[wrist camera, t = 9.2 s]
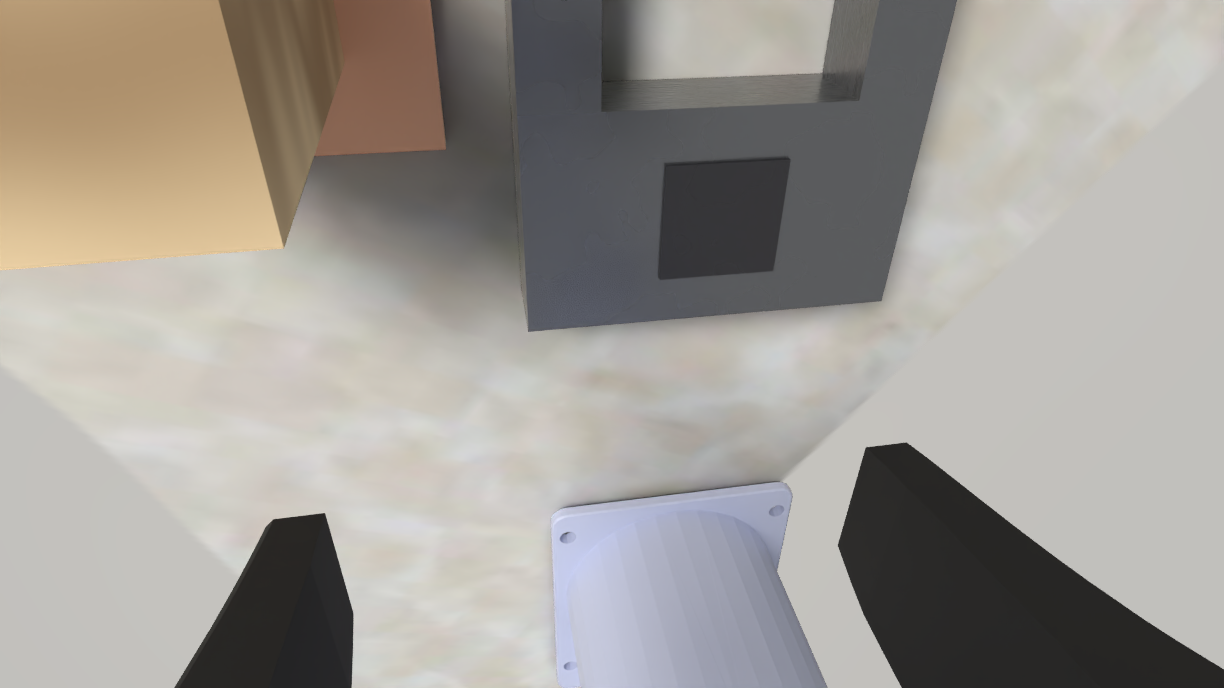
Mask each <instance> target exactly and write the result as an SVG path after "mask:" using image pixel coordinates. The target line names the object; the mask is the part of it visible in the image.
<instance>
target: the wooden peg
mask: <svg viewBox="0 0 1224 688" xmlns="http://www.w3.org/2000/svg"><path fill="white" fill-rule="evenodd" d="M344 63H345V61H344V56H343V50H342V45H341V40H340V34H339V29H338V23H337V18H336V13H335V7H334V2H333V0H0V270H11V269H24V268H37V267H50V266H63V265H76V264H89V263H102V262H115V261H127V260H140V259H153V258H166V257H179V256H192V255H205V254H218V253H231V252H244V251H257V250H270V249H283V248H284V246H285V243H286V240H287V237H288V234H289V231H290V228H291V225H292V222H293V219H294V216H295V213H296V210H297V207H298V204H299V201H300V198H301V195H302V192H303V188H304V185H305V182H306V179H307V176H308V173H309V170H310V167H311V164H312V161H313V158H314V155H315V152H316V149H317V146H318V143H319V140H320V137H321V134H322V131H323V127H324V124H325V121H326V118H327V115H328V112H329V109H330V106H331V103H332V100H333V97H334V94H335V91H336V88H337V85H338V82H339V79H340V76H341V73H342V70H343V66H344Z"/></svg>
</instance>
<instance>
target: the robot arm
mask: <svg viewBox="0 0 1224 688" xmlns="http://www.w3.org/2000/svg"><path fill="white" fill-rule="evenodd" d="M791 502H792V492H791V490H790V488H789V487H788V485H787V484H786V483H783V482H772V483H764V484H756V485H748V486H740V487H732V488H723V489H715V490H707V491H699V492H691V493H683V494H675V495H666V496H658V497H650V498H642V499H634V500H626V501H618V502H609V503H601V504H593V505H585V506H577V507H569V508H563V509H560V510H558V511H557V512H555V513H554V514H553V515H552V517H551V544H552V569H553V595H554V620H555V645H556V670H557V681H558V684H559V685H560V686H561V687H563V688H575V687H581V688H827V685H826V683H825V681H824V678H823V677H822V674H821V672H820V669H819V667H818V665H817V662H816V660H815V658H814V655H813V653H812V651H811V648H810V646H809V644H808V642H807V639H806V637H805V635H804V633H803V630H802V628H801V626H800V623H799V621H798V619H797V616H796V614H795V612H794V609H793V607H792V605H791V603H790V600H789V598H788V596H787V594H786V591H785V589H784V586H783V584H782V582H781V580H780V577H779V575H778V573H777V568H778V563H779V559H780V554H781V549H782V545H783V540H784V535H785V530H786V526H787V521H788V516H789V511H790V506H791ZM774 506H775V507H774ZM567 532H571V533H568V534H563V533H567ZM838 547H839V550H840V552H841V555H842V558H843V561H844V564H845V566H846V569H847V572H848V575H849V577H850V580H851V583H852V586H853V588H854V591H855V593H856V596H857V599H858V601H859V604H860V606H861V609H862V611H863V614H864V616H865V618H866V620H867V621H868V624H869V626H870V627H871V630H872V632H873V633H874V635H875V637H876V639H877V641H878V643H879V645H880V647H881V649H882V651H883V653H884V654H885V657H886V658H887V660H888V662H889V664H890V666H891V668H892V670H893V672H894V674H895V676H896V678H897V679H898V681H899V683H900V685H901V687H902V688H1224V669H1222V668H1220V667H1219V666H1217V665H1216V664H1214V663H1212V662H1210V661H1209V660H1207V659H1206V658H1204V657H1202V656H1201V655H1199V654H1197V653H1196V652H1194V651H1193V650H1191V649H1189V648H1188V647H1186V646H1185V645H1183V644H1181V643H1180V642H1178V641H1176V640H1175V639H1173V638H1172V637H1170V636H1169V635H1167V634H1165V633H1164V632H1162V631H1161V630H1159V629H1157V628H1156V627H1155V626H1153V625H1152V624H1150V623H1148V622H1147V621H1145V620H1144V619H1142V618H1141V617H1139V616H1138V615H1137V614H1135V613H1133V612H1132V611H1131V610H1129V609H1128V608H1126V607H1125V606H1123V605H1122V604H1121V603H1119V602H1118V601H1116V600H1115V599H1113V598H1112V597H1110V596H1109V595H1107V594H1106V593H1105V592H1103V591H1102V590H1100V589H1099V588H1097V587H1096V586H1094V585H1093V584H1091V583H1090V582H1089V581H1087V580H1086V579H1084V578H1083V577H1082V576H1080V575H1079V574H1078V573H1076V572H1075V571H1074V570H1072V569H1071V568H1069V567H1068V566H1067V565H1065V564H1064V563H1062V562H1061V561H1060V560H1058V559H1057V558H1056V557H1054V556H1053V555H1052V554H1050V553H1049V552H1048V551H1046V550H1045V549H1044V548H1042V547H1041V546H1040V545H1038V544H1037V543H1036V542H1034V541H1033V540H1032V539H1030V538H1029V537H1028V536H1026V535H1025V534H1024V533H1022V532H1021V531H1020V530H1019V529H1017V528H1016V527H1015V526H1013V525H1012V524H1011V523H1010V522H1008V521H1007V520H1005V519H1004V518H1003V517H1002V516H1000V515H999V514H998V513H997V512H995V511H994V510H993V509H992V508H990V507H989V506H988V505H986V504H985V503H984V502H982V501H981V500H980V499H979V498H977V497H976V496H975V495H974V494H972V493H971V492H970V491H969V490H967V489H966V488H965V487H964V486H962V485H961V484H960V483H958V482H957V481H956V480H955V479H953V478H952V477H951V476H949V475H948V474H947V473H946V472H945V471H943V470H942V469H941V468H939V467H938V466H937V465H936V464H934V463H933V462H932V461H930V460H929V459H928V458H927V457H925V456H924V455H923V454H921V453H920V452H919V451H917V450H916V449H915V448H913V447H912V446H911V445H909V444H908V443H899V444H891V445H884V446H875V447H867V448H866V449H865V453H864V456H863V459H862V463H861V466H860V470H859V473H858V477H857V480H856V484H855V488H854V491H853V495H852V498H851V501H850V505H849V508H848V512H847V515H846V519H845V522H844V526H843V529H842V533H841V537H840V540H839V544H838ZM352 658H353V611H352V607H351V604H350V600H349V597H348V593H347V589H346V586H345V582H344V579H343V575H342V572H341V568H340V565H339V561H338V558H337V554H336V551H335V547H334V544H333V540H332V537H331V533H330V529H329V526H328V522H327V519H326V515H325V513H322V514H314V515H306V516H298V517H289V518H281V519H273V520H272V521H271V522H270V523H269V524H268V525H267V526H266V528H265V530H264V532H263V534H262V536H261V538H260V540H259V542H258V544H257V546H256V547H255V549H254V551H253V553H252V555H251V557H250V559H249V561H248V563H247V565H246V566H245V568H244V570H243V572H242V574H241V576H240V578H239V579H238V581H237V583H236V585H235V587H234V588H233V590H232V592H231V594H230V596H229V597H228V599H227V601H226V603H225V604H224V606H223V608H222V610H221V611H220V613H219V615H218V617H217V619H216V620H215V622H214V624H213V625H212V627H211V629H210V631H209V632H208V634H207V635H206V637H205V639H204V640H203V642H202V643H201V645H200V647H199V648H198V650H197V652H196V653H195V655H194V657H193V658H192V660H191V661H190V663H189V665H188V666H187V668H186V670H185V671H184V673H183V675H182V676H181V678H180V679H179V681H178V683H177V684H176V686H175V688H351V685H352Z"/></svg>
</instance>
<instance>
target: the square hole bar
mask: <svg viewBox="0 0 1224 688" xmlns="http://www.w3.org/2000/svg"><path fill="white" fill-rule="evenodd" d="M956 2H957V0H835V2H834V8H833V14H832V20H831V26H830V32H829V38H828V44H827V50H826V56H825V62H824V68H823V74H796V75H770V76H743V77H716V78H690V79H663V80H637V81H610V82H602V0H505V13H506V31H507V48H508V66H509V83H510V101H511V119H512V136H513V154H514V172H515V189H516V207H517V224H518V242H519V260H520V277H521V291H522V297H523V302H524V308H525V314H526V320H527V326H528V332H530V331H542V330H553V329H565V328H576V327H588V326H599V325H611V324H622V323H634V322H645V321H657V320H668V319H680V318H691V317H703V316H714V315H726V314H737V313H749V312H761V311H772V310H784V309H795V308H807V307H818V306H830V305H841V304H853V303H864V302H876V301H881V300H882V296H883V292H884V288H885V284H886V280H887V276H888V272H889V268H890V264H891V261H892V257H893V253H894V249H895V245H896V241H897V237H898V233H899V229H900V225H901V221H902V217H903V213H904V209H905V205H906V201H907V197H908V193H909V189H910V185H911V181H912V177H913V173H914V169H915V165H916V161H917V157H918V153H919V149H920V145H921V141H922V137H923V133H924V129H925V125H926V121H927V117H928V113H929V110H930V106H931V102H932V98H933V94H934V90H935V86H936V82H937V78H938V74H939V70H940V66H941V62H942V58H943V54H944V50H945V46H946V42H947V38H948V34H949V30H950V26H951V22H952V18H953V14H954V10H955V6H956Z"/></svg>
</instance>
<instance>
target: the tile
mask: <svg viewBox="0 0 1224 688" xmlns="http://www.w3.org/2000/svg"><path fill="white" fill-rule="evenodd" d="M333 2H334V7H335V13H336V18H337V23H338V29H339V34H340V40H341V45H342V50H343V56H344V61H345V63H344V66H343V70H342V73H341V76H340V79H339V82H338V85H337V88H336V91H335V94H334V97H333V100H332V103H331V106H330V109H329V112H328V115H327V118H326V121H325V124H324V127H323V131H322V134H321V137H320V140H319V143H318V146H317V149H316V152H315V155H314V156H327V155H347V154H367V153H388V152H408V151H428V150H446V138H445V129H444V120H443V110H442V101H441V92H440V82H439V73H438V64H437V54H436V45H435V36H434V26H433V17H432V8H431V0H333Z"/></svg>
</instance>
